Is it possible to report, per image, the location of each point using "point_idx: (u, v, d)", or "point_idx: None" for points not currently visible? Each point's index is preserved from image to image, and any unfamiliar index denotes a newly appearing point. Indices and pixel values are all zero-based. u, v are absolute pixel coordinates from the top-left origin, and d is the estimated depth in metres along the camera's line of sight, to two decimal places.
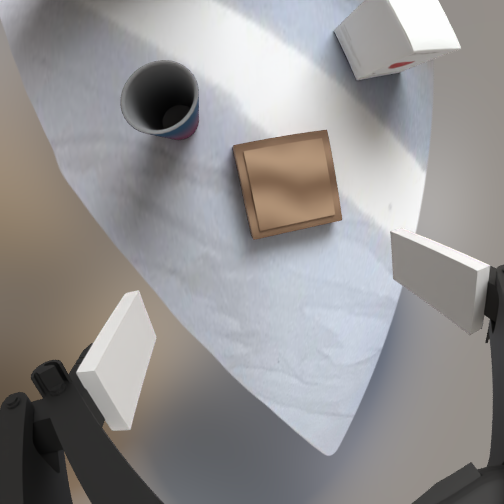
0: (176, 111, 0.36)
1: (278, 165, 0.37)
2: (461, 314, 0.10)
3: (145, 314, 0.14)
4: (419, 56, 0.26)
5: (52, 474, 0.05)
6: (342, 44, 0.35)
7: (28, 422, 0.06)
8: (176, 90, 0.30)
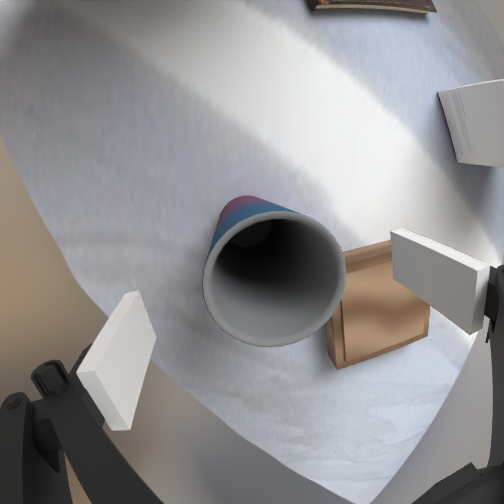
0: None
1: (376, 290, 0.28)
2: (461, 314, 0.10)
3: (145, 314, 0.14)
4: None
5: (52, 474, 0.05)
6: (448, 114, 0.26)
7: (28, 422, 0.06)
8: None
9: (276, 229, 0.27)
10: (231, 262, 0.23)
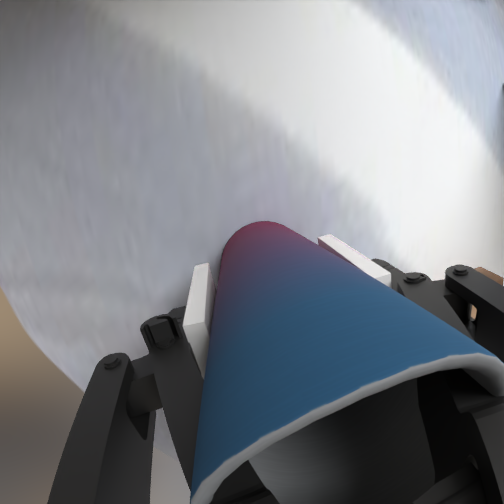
0: None
1: None
2: None
3: (214, 285, 0.16)
4: None
5: (138, 441, 0.07)
6: None
7: (125, 386, 0.08)
8: None
9: None
10: None
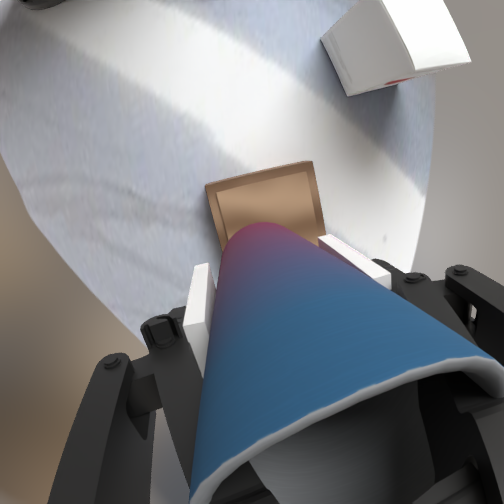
0: None
1: (256, 206, 0.33)
2: None
3: (214, 285, 0.16)
4: (421, 73, 0.22)
5: (138, 441, 0.07)
6: (330, 54, 0.31)
7: (125, 385, 0.08)
8: None
9: None
10: None
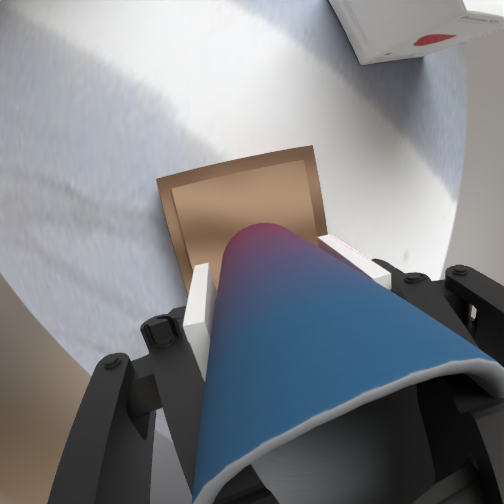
0: None
1: (228, 209, 0.23)
2: None
3: (214, 285, 0.16)
4: (469, 25, 0.12)
5: (138, 441, 0.07)
6: (338, 11, 0.21)
7: (125, 386, 0.08)
8: None
9: None
10: None
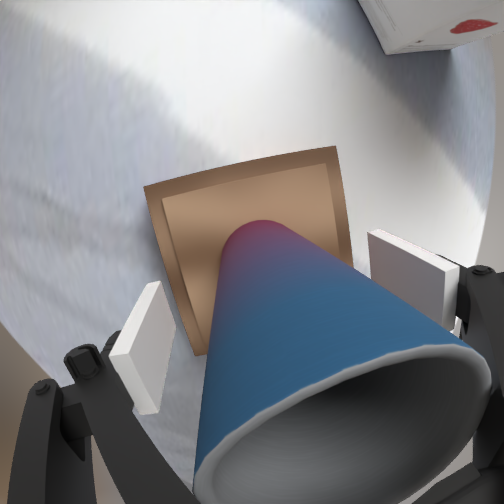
0: None
1: (233, 224, 0.18)
2: (432, 314, 0.10)
3: (166, 304, 0.15)
4: None
5: (77, 462, 0.06)
6: None
7: (56, 409, 0.07)
8: None
9: None
10: None
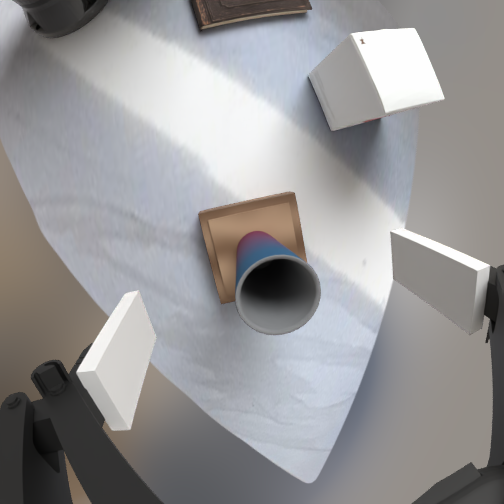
0: None
1: (243, 233, 0.38)
2: (461, 314, 0.10)
3: (145, 314, 0.14)
4: (394, 113, 0.27)
5: (52, 474, 0.05)
6: (316, 91, 0.36)
7: (28, 422, 0.06)
8: None
9: None
10: (247, 280, 0.33)
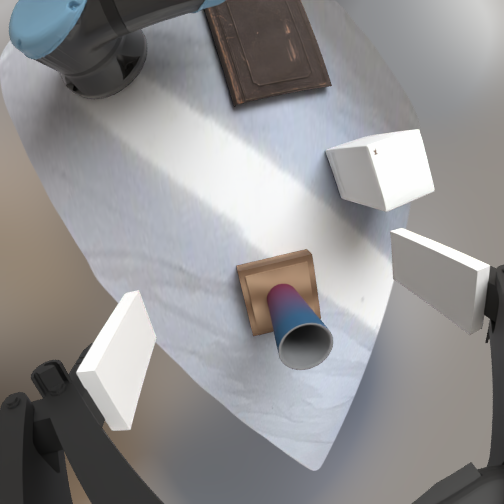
0: None
1: (272, 285, 0.49)
2: (461, 314, 0.10)
3: (145, 314, 0.14)
4: None
5: (52, 474, 0.05)
6: (331, 166, 0.47)
7: (28, 422, 0.06)
8: None
9: None
10: None
